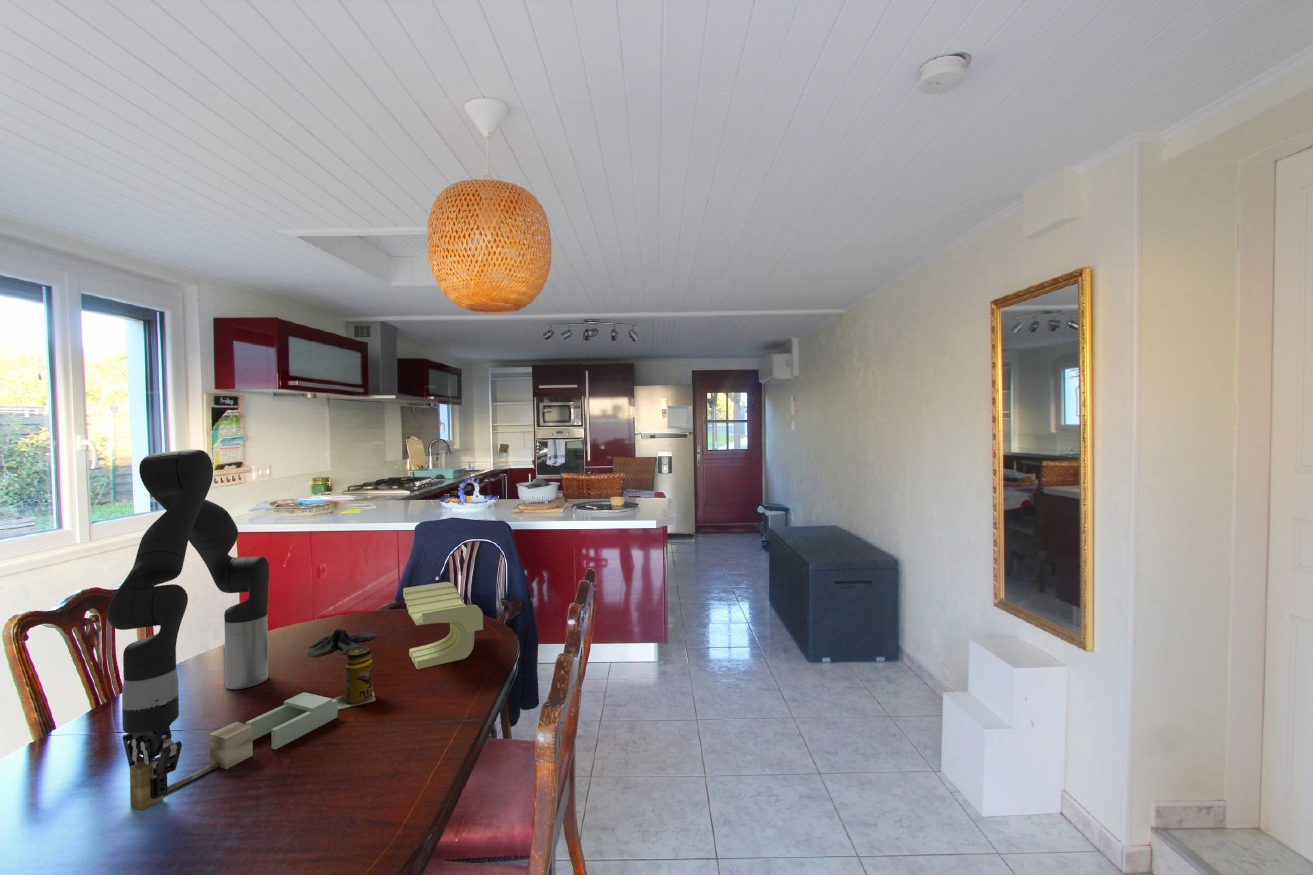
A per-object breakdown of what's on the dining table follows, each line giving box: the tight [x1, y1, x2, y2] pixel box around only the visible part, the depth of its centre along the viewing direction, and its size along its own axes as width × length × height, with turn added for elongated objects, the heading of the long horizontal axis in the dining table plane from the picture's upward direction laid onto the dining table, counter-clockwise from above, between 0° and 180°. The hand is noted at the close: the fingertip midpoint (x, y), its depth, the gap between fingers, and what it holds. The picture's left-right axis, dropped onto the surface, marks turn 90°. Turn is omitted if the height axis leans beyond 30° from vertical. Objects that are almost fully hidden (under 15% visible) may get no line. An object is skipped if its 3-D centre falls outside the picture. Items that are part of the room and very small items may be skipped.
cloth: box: [307, 628, 379, 659], centre depth 174 cm, size 22×19×6 cm
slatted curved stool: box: [403, 581, 484, 670], centre depth 165 cm, size 30×16×18 cm, turn 33°
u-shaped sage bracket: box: [245, 691, 338, 750], centre depth 124 cm, size 9×14×5 cm, turn 158°
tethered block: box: [129, 721, 254, 811], centre depth 106 cm, size 5×18×7 cm, turn 158°
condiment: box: [333, 646, 377, 711], centre depth 138 cm, size 7×8×12 cm
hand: (152, 793), depth 100 cm, fingers closed on tethered block, 3 cm apart
